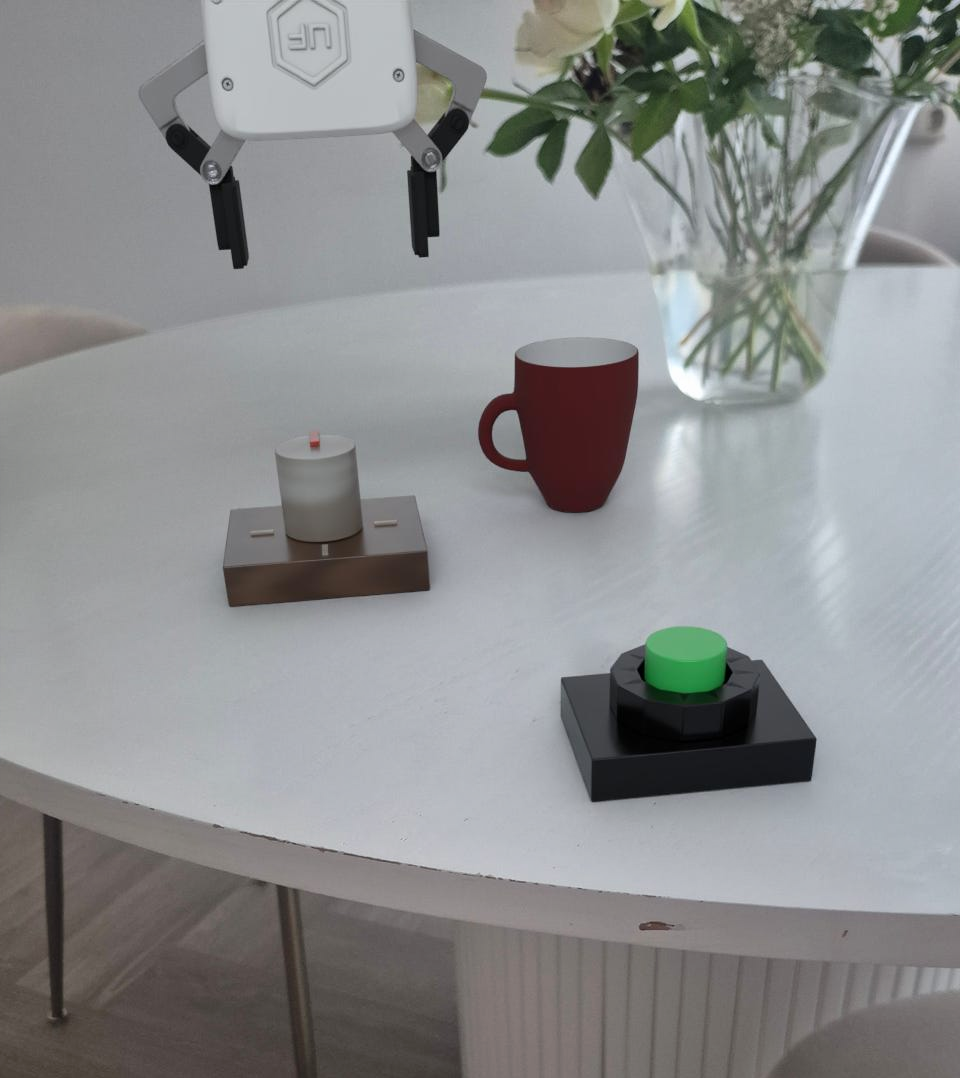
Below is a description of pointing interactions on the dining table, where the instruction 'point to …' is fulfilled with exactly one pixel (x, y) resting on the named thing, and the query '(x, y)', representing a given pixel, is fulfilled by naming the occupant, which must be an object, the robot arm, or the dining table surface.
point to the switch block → (683, 731)
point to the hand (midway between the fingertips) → (331, 258)
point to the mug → (569, 417)
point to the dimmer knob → (319, 487)
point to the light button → (685, 659)
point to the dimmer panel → (325, 556)
